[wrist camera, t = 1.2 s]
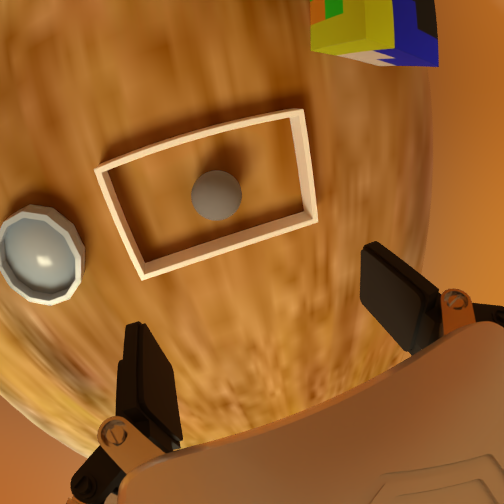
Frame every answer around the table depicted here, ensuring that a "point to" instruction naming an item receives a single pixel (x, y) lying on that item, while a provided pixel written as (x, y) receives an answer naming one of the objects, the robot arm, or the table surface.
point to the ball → (216, 195)
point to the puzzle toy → (376, 31)
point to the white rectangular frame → (230, 240)
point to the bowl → (41, 255)
